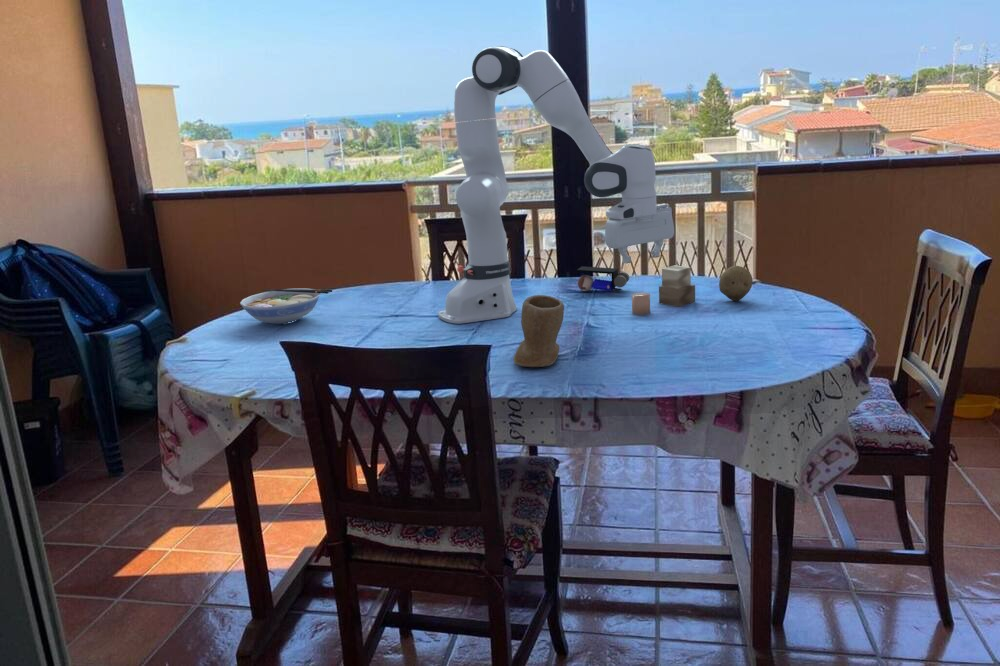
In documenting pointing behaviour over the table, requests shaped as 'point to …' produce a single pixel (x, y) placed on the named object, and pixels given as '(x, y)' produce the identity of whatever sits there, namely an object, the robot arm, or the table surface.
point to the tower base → (677, 295)
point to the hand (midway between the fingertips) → (641, 260)
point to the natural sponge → (735, 282)
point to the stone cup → (539, 331)
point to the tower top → (676, 276)
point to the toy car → (588, 283)
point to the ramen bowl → (282, 304)
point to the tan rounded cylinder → (641, 303)
